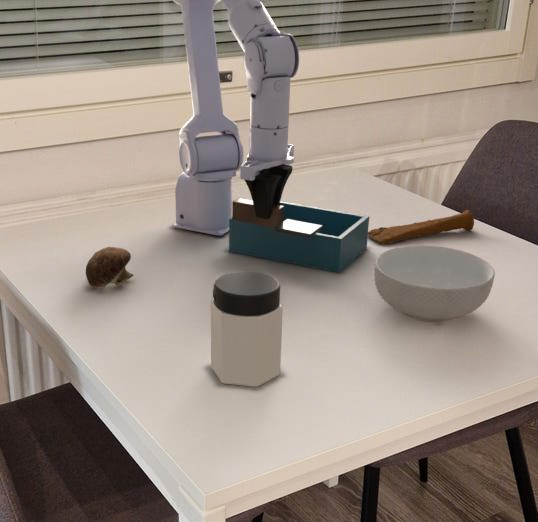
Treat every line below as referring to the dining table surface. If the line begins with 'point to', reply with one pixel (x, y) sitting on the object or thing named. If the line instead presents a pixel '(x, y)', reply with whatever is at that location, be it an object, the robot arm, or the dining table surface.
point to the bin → (305, 238)
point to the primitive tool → (423, 228)
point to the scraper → (272, 219)
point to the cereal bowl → (433, 281)
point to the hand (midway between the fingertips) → (266, 215)
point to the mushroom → (108, 267)
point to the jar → (246, 328)
